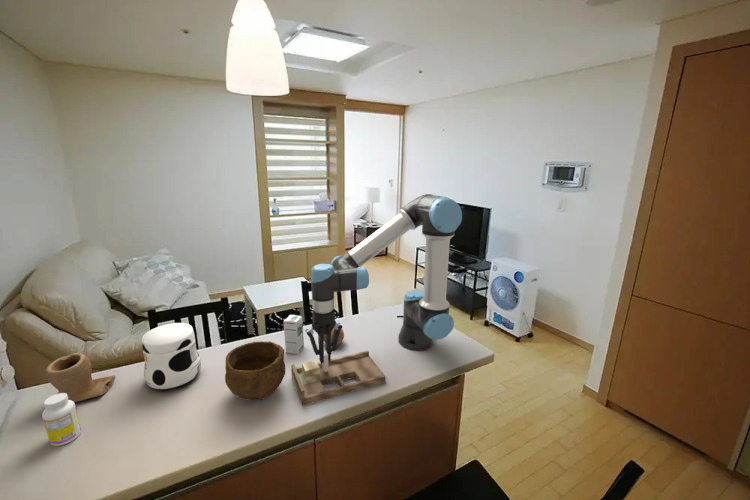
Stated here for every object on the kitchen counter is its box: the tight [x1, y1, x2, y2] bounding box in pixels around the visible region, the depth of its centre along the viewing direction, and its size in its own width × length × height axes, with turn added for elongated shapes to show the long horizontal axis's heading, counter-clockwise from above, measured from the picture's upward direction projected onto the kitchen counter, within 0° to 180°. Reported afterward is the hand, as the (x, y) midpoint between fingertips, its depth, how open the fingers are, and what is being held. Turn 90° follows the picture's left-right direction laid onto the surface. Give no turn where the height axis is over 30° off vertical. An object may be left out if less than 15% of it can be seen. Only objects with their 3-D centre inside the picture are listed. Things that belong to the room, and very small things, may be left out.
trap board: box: [290, 350, 387, 407], centre depth 121 cm, size 30×16×6 cm, turn 115°
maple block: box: [301, 360, 320, 381], centre depth 119 cm, size 5×5×4 cm
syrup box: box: [283, 314, 305, 355], centre depth 138 cm, size 6×6×14 cm
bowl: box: [224, 341, 286, 401], centre depth 112 cm, size 19×19×15 cm
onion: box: [324, 328, 345, 347], centre depth 144 cm, size 10×9×10 cm
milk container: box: [141, 322, 202, 391], centre depth 118 cm, size 17×17×18 cm
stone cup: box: [44, 352, 116, 403], centre depth 109 cm, size 15×12×15 cm
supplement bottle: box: [41, 393, 82, 447], centre depth 93 cm, size 7×7×13 cm
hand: (325, 369), depth 122 cm, fingers closed
